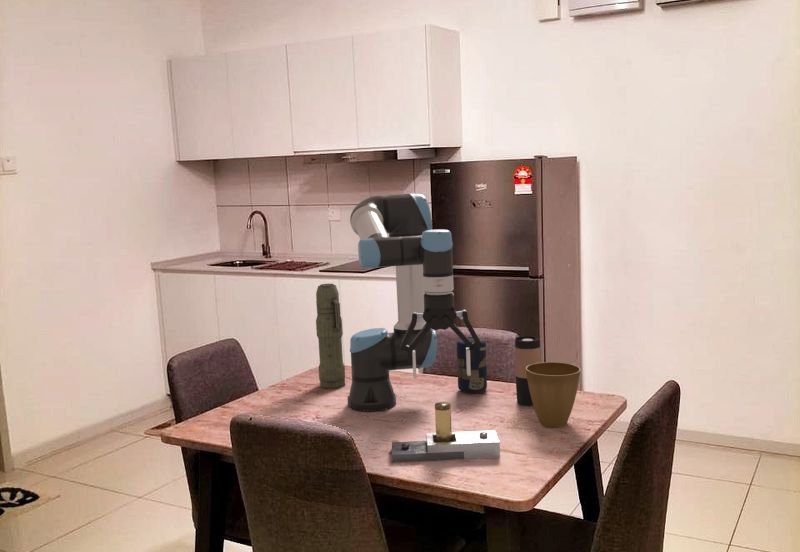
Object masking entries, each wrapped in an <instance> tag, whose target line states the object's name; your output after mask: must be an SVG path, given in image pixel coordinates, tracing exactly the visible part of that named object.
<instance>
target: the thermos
mask: <svg viewBox="0 0 800 552" xmlns="http://www.w3.org/2000/svg"><path fill="white" fill-rule="evenodd" d="M339 295H340V293H339V290H338V288H337V285H336V284H334V283H322V284H321V283H320V284H319V285H318V286H317V289H316V293H315V296H316V297H315V298H316V302H315V303H316V315H317V316H316V319H315V325H316V326H315V329H316V337H317V338H318V352H319V355H318V356H319V364H318V365H319V366H318V379H319V388H321V389H324V390H337V389H341V388H343V387H345V386H346V366H345V363H344V358H343V339H342V337H343V333H344V331H343V319H342V316H341V304H340V297H339Z"/></svg>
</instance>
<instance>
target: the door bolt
mask: <svg viewBox="0 0 800 552" xmlns="http://www.w3.org/2000/svg"><path fill="white" fill-rule="evenodd" d="M425 438H426V440H415V441H414V440H413V441H412V440H411V441H392V442H391V463H408V462H410V463H411V462H427V461H428V462H429V461H430V462H431V461H433V462H434V461H451V460H452V461H453V460H454V461H455V460H472V459H474V460H475V459H493V458H496V459H497V458H498V459H499V458H501V444H500V439H499V437H498V434H497V431H496V430H495V429H493V430H492V429H490V430H489V429H488V430H471V431H470V430H468V431H466V430H465V431H452V442H441V443H436V432H428V433H427V432H426V433H425Z"/></svg>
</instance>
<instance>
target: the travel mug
mask: <svg viewBox="0 0 800 552" xmlns="http://www.w3.org/2000/svg"><path fill="white" fill-rule="evenodd" d="M514 358H515V359H514V361H515V362H514V364H515V365H514V368H515V389H516V403H517V405H520V406H523V407H534V406H533V402H532V399H531V395H530V391H529V386H528V381H527V374H526V367H527V366H528V365H531V364H535V363H542V362H541V339H540V337H539V338H537V337H536V336H533V335H522V336H516V337H515V339H514Z"/></svg>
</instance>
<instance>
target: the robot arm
mask: <svg viewBox="0 0 800 552" xmlns="http://www.w3.org/2000/svg"><path fill="white" fill-rule="evenodd" d="M349 219H350V220H349V221H350V226H351V228H352V230H353V232H354V234H356V235H357V236H358V237H359V239H360V240H359V241H358V243H357V250H358V251H357V252H358V262H359V266H361V267H362V269H363V268H367V269H368V268H372V269H377V268H387V267H388V268H389V267H395V282H396V283H395V284H396V300H397V301H396V302H397V303H396V304H397V322H395V324H394V325H393V332H388V330H387V329H386V328H384V327H375V328H374V327H373V328H369V329H365V330H364V329H363V330H361V331H359V332H356V333H355V334H353V335H352V336H351V337H350V339H349V340H350V342H349V344H350V347H349V352H350V363H351V386H350V390H349V394H348V396H347V407H348V408H349V409H351V410H352V411H353V410H354V411H357V412H358V411H359V412H377V411H385V410H388V409H391V408H393V407H395V406H396V404H397V395H396V394H395V390H394V388H393V385H392V383H391V379H390V371H398V370H412V375H413V376H412V377H413V379H416V378H417V369H422V368H429V367H431V366H433V364H435V361H436V357H437V350H438V339H437V338H438V337H437V335H438V334H437V332H436V331H439V330H447V329H450V330H452V332H454V333H455V334H456V335H457V336H458V337H459V339H461V340H462V341H463V342H464V343H465V344H466V345H467V346H468V347H469V348H466V365H467V375H468V376H471V368H470V362H474V360H475V356H474V350H475V348H476V347H480V346H481V342H480V340H479V338H480V337H479V336H478V334H477V333H476V331H475V330H474V328H473V325H472V324H471V322H470V320H469V315H468V311H467V310H466V309H464V308H463V309H462V310H458V311H456V309H455V294H454V292H453V291H454V290H455V289H454V267H453V266H454V265H453V264H454V263H453V260H454V258H453V257H454V256H453V246H454V242H453V238H452V232H451V231H450V230H448V229H432V228H433V225H432V224H433V222H432V221H433V220H432V219H433V218H432V213H431V209H430V205H429V202H428V199H427V198H426V196H425V195H424V194H422V193H405V194H403V193H402V194H401V193H400V194H389V195H388V194H386V195H385V194H384V195H381V194H380V195H373V196H370V197H367V198H366V199H363V200H362V201H361V202H358V203H357V205H356V206H354V208H353V210H352V211H351V214H350V217H349ZM457 317H459V319H460V320H463V323H464V325H465V326H466V329H467V331H468V332H469V334H470V337H473V339H474V341H475V342H473V343H472V342H471V341H470V340H469V339H468V338H467V337H468V336H466V334H464V332H463V331H462V330H461V329H460V328H459V326H457V325H456V323H454V321H455V319H456V318H457Z"/></svg>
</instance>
